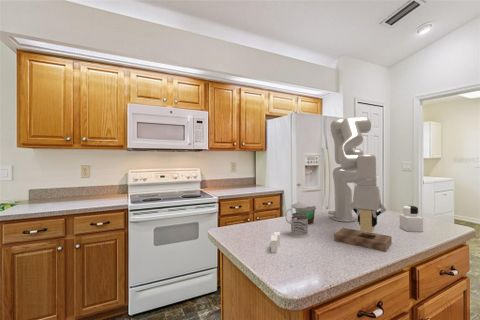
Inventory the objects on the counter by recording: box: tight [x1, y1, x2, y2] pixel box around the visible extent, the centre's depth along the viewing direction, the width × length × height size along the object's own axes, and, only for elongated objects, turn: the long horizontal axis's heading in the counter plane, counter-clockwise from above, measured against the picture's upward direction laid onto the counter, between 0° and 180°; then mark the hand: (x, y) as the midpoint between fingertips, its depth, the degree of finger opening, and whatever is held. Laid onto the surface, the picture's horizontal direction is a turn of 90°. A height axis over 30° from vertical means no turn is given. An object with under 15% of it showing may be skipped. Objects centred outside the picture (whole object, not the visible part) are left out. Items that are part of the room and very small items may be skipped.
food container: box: [293, 205, 317, 225], centre depth 134 cm, size 12×6×10 cm, turn 73°
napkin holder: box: [270, 231, 281, 254], centre depth 99 cm, size 15×11×6 cm
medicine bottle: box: [399, 205, 424, 233], centre depth 119 cm, size 7×7×12 cm
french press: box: [284, 182, 311, 238], centre depth 115 cm, size 10×12×25 cm
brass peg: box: [359, 209, 375, 233], centre depth 102 cm, size 4×4×9 cm
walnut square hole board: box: [333, 227, 393, 252], centre depth 103 cm, size 20×12×3 cm, turn 48°
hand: (367, 224), depth 102 cm, fingers closed on brass peg, 4 cm apart
